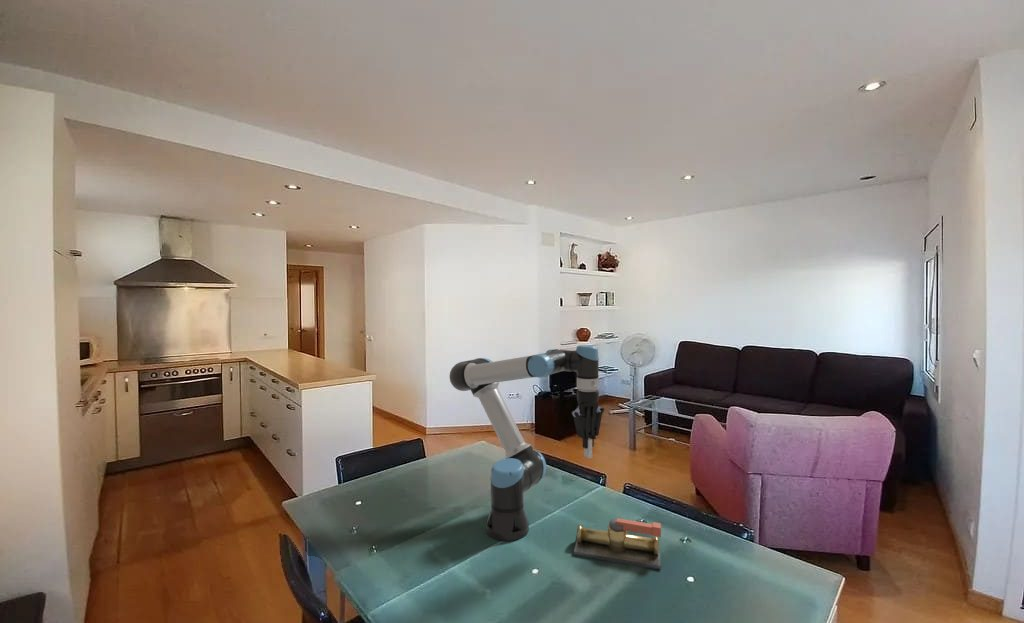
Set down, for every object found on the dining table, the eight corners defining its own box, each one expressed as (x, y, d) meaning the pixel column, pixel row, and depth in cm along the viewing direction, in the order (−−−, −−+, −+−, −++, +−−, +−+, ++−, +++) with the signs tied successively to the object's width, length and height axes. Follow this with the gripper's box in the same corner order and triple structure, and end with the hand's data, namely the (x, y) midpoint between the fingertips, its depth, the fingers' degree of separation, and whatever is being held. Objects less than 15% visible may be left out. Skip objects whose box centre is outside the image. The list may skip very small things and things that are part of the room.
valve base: (573, 555, 130) (573, 533, 130) (579, 531, 144) (579, 512, 144) (660, 569, 123) (660, 546, 123) (658, 543, 136) (658, 522, 136)
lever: (660, 539, 126) (660, 529, 126) (608, 529, 132) (608, 520, 132) (661, 531, 131) (660, 522, 131) (610, 522, 136) (610, 513, 136)
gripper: (579, 393, 137) (579, 463, 137) (609, 389, 143) (609, 456, 143) (566, 389, 144) (566, 456, 144) (595, 386, 150) (595, 450, 150)
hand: (588, 456), depth 144 cm, fingers closed
